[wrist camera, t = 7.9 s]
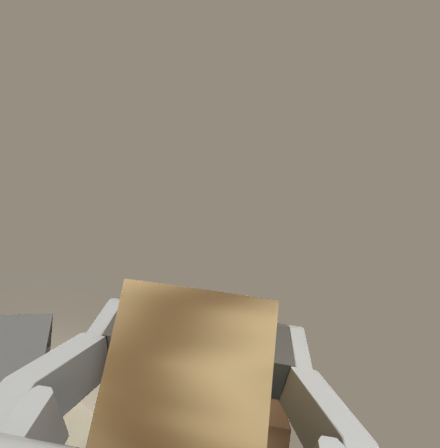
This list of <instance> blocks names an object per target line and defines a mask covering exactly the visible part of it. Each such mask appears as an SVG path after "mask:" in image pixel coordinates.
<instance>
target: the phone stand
mask: <svg viewBox="0 0 440 448" xmlns="http://www.w3.org/2000/svg"><path fill="white" fill-rule="evenodd" d="M52 319H53V314H23V315H21V314H19V315H0V383H1V381H2V380H3V379H4V378H5V377H7V376H8V375H10V374H12V373H13V372H15V371H17V370H19V369H20V368H22V367H24V366H25V365H27V364H29V363H31V362H32V361H34V360H36V359H37V358H39V357H41V356H43V355H44V354H46V353H48V352H49V351H50V346H51V332H52Z"/></svg>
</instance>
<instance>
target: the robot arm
mask: <svg viewBox="0 0 440 448" xmlns="http://www.w3.org/2000/svg"><path fill="white" fill-rule="evenodd" d="M119 301H120V299H115V298H112V299H110V300H109V301H108V302H107V304H106V305H105V306H104V308H103V309H102V311H101V312H100V313H99V315H98V317H97V318H96V319H95V321H94V322H93V324H92V325H91V326H90V328H89V329H88V331H87V332H86V333H80V334H78V335H77V336H75V337H73V338H72V339H70V340H68V341H67V342H65V343H63V344H61V345H60V346H58V347H56V348H55V349H53V350H51V351H49V352H48V353H46V354H44V355H43V356H41V357H39V358H37V359H36V360H34V361H32V362H31V363H29V364H27V365H25V366H24V367H22V368H20V369H19V370H17V371H15V372H13V373H12V374H10V375H8V376H7V377H5V378H4V379H3V380H2V381H1V383H0V448H78V447H73V446H68V445H64V444H65V442H66V440H67V438H68V437H69V435H68V430H67V428H66V425H65V422H64V420H63V416H64V415H65V414H66V413H67V412H69V411H70V410H71V409H72V408H73V407H74V406H75V405H76V404H78V403H79V402H80V401H81V400H82V399H83V398H84V397H85V396H87V395H88V394H89V393H90V392H91V391H92V390H93V389H94V388H96V387H97V386H98V385H99V384H100V383H101V379H102V375H103V371H104V366H105V362H106V358H107V353H108V349H109V345H110V340H111V336H112V331H113V327H114V323H115V318H116V314H117V310H118V305H119ZM271 399H275V400H280V401H279V402H280V404H281V406H282V408H283V410H284V412H285V414H286V415H287V417H288V419H289V421H290V423H291V425H292V427H293V428H294V430H295V432H296V434H297V436H298V438H299V440H300V441H301V443H302V445H303V447H304V448H379V446H378V444H377V443H376V441H375V440H374V439H373V438H372V437H371V435H370V434H369V433H368V432H367V431H366V429H365V428H364V427H363V426H362V425H361V423H360V422H359V421H358V420H357V418H356V417H355V416H354V415H353V414H352V412H351V411H350V410H349V409H348V407H347V406H346V405H345V404H344V403H343V401H342V400H341V399H340V398H339V397H338V395H337V394H336V393H335V392H334V390H333V389H332V388H331V387H330V386H329V384H328V383H327V382H326V381H325V380H324V378H323V377H322V376H321V375H320V373H319V372H318V371H315V370H313V368H312V364H311V359H310V354H309V350H308V345H307V340H306V336H305V332H304V329H303V327H297V326H291V325H285V324H278V323H277V331H276V343H275V355H274V367H273V379H272V391H271Z"/></svg>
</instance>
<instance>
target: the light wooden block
mask: <svg viewBox="0 0 440 448" xmlns="http://www.w3.org/2000/svg"><path fill="white" fill-rule="evenodd" d="M278 306H279V301H274V300H269V299H263V298H257V297H250V296H244V295H237V294H231V293H224V292H217V291H211V290H204V289H197V288H190V287H182V286H176V285H168V284H162V283H155V282H147V281H140V280H133V279H126V278H125V279H124V284H123V288H122V292H121V297H120V301H119V305H118V310H117V314H116V318H115V323H114V327H113V331H112V336H111V340H110V345H109V349H108V353H107V358H106V362H105V366H104V371H103V375H102V379H101V384H100V388H99V393H98V397H97V401H96V405H95V410H94V414H93V418H92V423H91V427H90V432H89V436H88V440H87V445H86V448H267V439H268V427H269V415H270V403H271V391H272V379H273V367H274V355H275V343H276V331H277V319H278Z"/></svg>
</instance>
